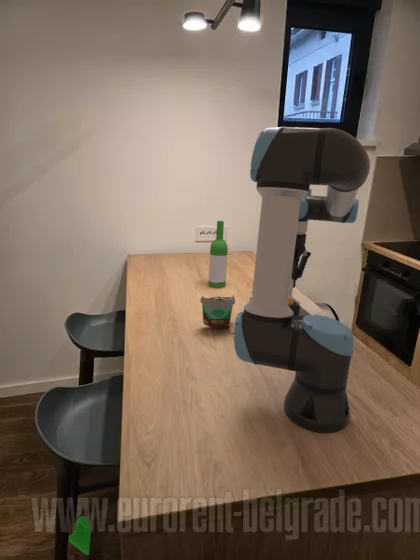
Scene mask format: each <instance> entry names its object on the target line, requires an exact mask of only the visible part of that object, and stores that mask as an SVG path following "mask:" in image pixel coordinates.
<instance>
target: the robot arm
mask: <svg viewBox="0 0 420 560" xmlns="http://www.w3.org/2000/svg"><path fill="white" fill-rule="evenodd" d="M370 170H371V160H370V157H369V154H368V152H367V151H366V148H365V147H364V145H362V143H361V142H360V141H359V140H358V139H357V138H355V137H354V136H353V135H351V134H350V133H348V132H346V131H344V130H341V129H339V128H334V127H323V128H322V127H321V128H319V127H301V126H283V125H282V126H280V127H267V128H264V129H263V130H262V131H261V132H260V133H259V135H258V137H257V139H256V142H255V143H254V147H253V150H252V155H251V160H250V171H249V176H250V179H251V181H252V182H254V183H256V189H255V190H256V191H257V192H258V194H259V195H260V196H261V205H260V214H259V223H258V232H257V234H258V235H257V243H256V244H257V245H256V254H255V261H254V262H255V263H254V271H253V281H252V290H251V297H250V298H251V301H250V300H249V302H248V303H246V304H245V305H244V306H243V311H240V312H238V313H237V314H236V317H235V320H234V322H235V323H234V329H233V330H234V331H233V344H234V352H235V354H236V356H237V357H238V359H240V360H241V361H243V362H247V363H250V364H253V365H255V366H257V365H259V366H265V367H270V368H275V369H280V370H286V371H291V372H292V371H293V372H295V375H294V379H293V381H292V384H290V387H289V389H288V391H287V393H286V395H285V397H284V402H283V403H284V404H283V409H284V413H285V415H286V416H287V417H288V418H289V419H290V420H291V422H293V423H294V424H296V425H298V426H300V427H301V428H304V429H306V430H309V431H312V432H318V433H326V434H327V433H328V434H329V433H336V432H339V431H342V430H343V429H345V428H346V427H347V425H348V423H349V419H350V415H351V414H350V413H351V411H350V406H349V401H348V394H347V390H346V389H347V384H348V378H349V373H350V372H349V371H350V365H351V359H352V356H353V354H354V340H355V338H354V334H353V332H352V330H351V329H350V327H349V326H347V325H346V324H344V323H342V322H341V321H339V320H338V319H335V318H332V317H329V316H326V315H320V314H311V315H307V316H305V317H304V318H303V319H302V320H293V311H292V310H291V308H290V307H289V306H288V300H289V297H293V290H294V289H295V287H296V284H297V283H296V281H298V279H301V278H303V274H304V270H305V268H306V265H307V262H308V259H309V258H310V257H311V255H312V253H311V252H310V251H308V250H307V248H306V241H307V234H306V233H307V232H308V226H309V221H319V222H320V221H323V222H332V223H341V224H353V223H355V222H356V220H357V217H358V213H359V212H358V211H359V202H360V201H359V199H357V198H356V197H357V193H358V190H359V189H360V188H361V187H362V186H363V185H364V184H365V182H366V181H367V179H368V176H369V174H370ZM311 186H326V195H325V196H323V195H312V189H311ZM293 288H294V289H293Z"/></svg>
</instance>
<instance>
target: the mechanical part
mask: <svg viewBox="0 0 420 560" xmlns="http://www.w3.org/2000/svg"><path fill="white" fill-rule="evenodd" d="M75 525H76V527H75V528H76V529H75V530H74V531H73V532H72V533H71V534H69V536H68V537H69V541H68V543H70V544H72V545H73V547H75V548H77V550H79V551H80V552H81V553H83V554H84V555H86V556H89V555H90V547H91V546H90V545H91V535H92V532H91V525H90V522H89V520H88V519H87V518H86V516H83V515H81V516H80V517H79V518H78V519H76V522H75Z"/></svg>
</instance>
